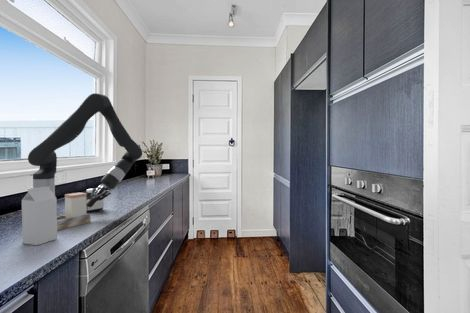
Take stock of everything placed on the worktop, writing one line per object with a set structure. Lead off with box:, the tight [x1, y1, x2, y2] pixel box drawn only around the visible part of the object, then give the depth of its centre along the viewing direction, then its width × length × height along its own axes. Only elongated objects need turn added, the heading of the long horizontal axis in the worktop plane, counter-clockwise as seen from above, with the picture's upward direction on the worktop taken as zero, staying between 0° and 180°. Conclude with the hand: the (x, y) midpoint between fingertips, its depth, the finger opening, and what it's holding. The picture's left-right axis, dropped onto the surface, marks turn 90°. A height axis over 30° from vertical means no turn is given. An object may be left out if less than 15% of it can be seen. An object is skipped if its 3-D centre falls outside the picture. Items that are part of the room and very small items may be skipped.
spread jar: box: [85, 187, 105, 213], centre depth 133 cm, size 12×11×12 cm
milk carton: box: [21, 186, 58, 246], centre depth 88 cm, size 7×7×19 cm
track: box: [57, 213, 92, 231], centre depth 107 cm, size 18×9×6 cm, turn 147°
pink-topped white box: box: [64, 192, 87, 219], centre depth 111 cm, size 6×6×11 cm
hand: (88, 206), depth 116 cm, fingers closed
